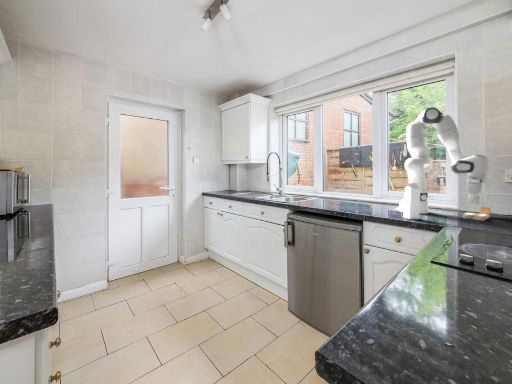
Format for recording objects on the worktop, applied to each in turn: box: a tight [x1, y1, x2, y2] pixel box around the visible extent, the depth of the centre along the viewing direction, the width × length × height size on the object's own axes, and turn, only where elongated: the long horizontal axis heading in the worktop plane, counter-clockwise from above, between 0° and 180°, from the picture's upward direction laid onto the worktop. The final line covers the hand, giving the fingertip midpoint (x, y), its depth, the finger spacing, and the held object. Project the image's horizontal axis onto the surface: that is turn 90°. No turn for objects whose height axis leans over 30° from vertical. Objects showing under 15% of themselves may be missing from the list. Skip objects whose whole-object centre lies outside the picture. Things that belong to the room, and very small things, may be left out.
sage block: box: [466, 194, 480, 205], centre depth 163 cm, size 5×5×5 cm
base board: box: [462, 212, 488, 221], centre depth 154 cm, size 10×10×2 cm
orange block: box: [478, 206, 491, 219], centre depth 158 cm, size 4×4×6 cm
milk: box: [402, 182, 420, 220], centre depth 153 cm, size 6×6×22 cm
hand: (473, 200), depth 163 cm, fingers closed on sage block, 5 cm apart
